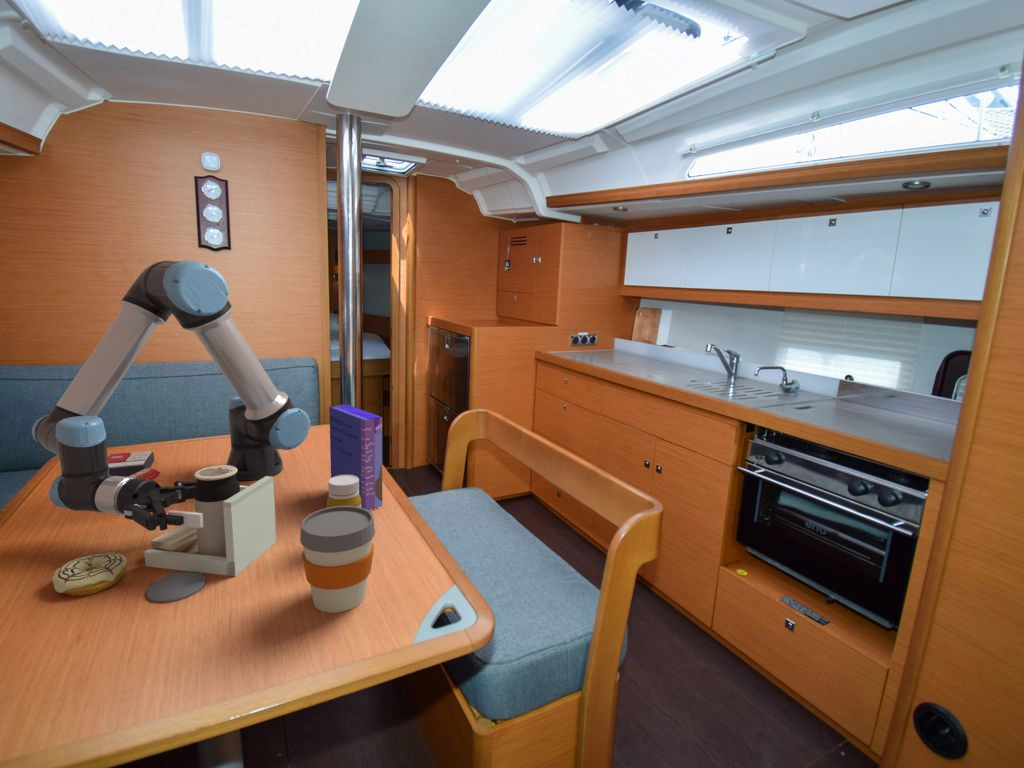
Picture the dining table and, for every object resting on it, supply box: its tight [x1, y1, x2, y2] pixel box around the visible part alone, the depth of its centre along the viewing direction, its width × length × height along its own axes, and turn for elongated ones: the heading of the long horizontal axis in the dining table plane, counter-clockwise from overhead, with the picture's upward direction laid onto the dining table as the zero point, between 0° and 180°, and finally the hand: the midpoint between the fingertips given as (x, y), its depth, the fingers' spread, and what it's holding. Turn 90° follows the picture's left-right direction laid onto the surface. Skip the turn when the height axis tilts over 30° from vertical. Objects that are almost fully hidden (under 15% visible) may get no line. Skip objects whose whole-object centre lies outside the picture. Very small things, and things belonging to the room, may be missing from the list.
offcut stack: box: [150, 526, 198, 554], centre depth 105 cm, size 7×10×4 cm, turn 173°
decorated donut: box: [51, 552, 128, 597], centre depth 93 cm, size 10×11×4 cm
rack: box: [143, 476, 277, 577], centre depth 103 cm, size 19×14×15 cm
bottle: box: [326, 475, 361, 508], centre depth 109 cm, size 7×7×15 cm
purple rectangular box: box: [328, 403, 383, 511], centre depth 132 cm, size 17×5×24 cm, turn 47°
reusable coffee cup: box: [299, 506, 376, 614], centre depth 91 cm, size 13×13×15 cm
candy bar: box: [128, 467, 162, 480], centre depth 137 cm, size 16×4×3 cm, turn 178°
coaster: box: [146, 571, 206, 603], centre depth 93 cm, size 9×9×1 cm
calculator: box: [108, 450, 155, 477], centre depth 147 cm, size 11×4×15 cm
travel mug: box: [193, 464, 241, 557], centre depth 103 cm, size 8×8×18 cm
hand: (226, 505), depth 102 cm, fingers open, 13 cm apart
